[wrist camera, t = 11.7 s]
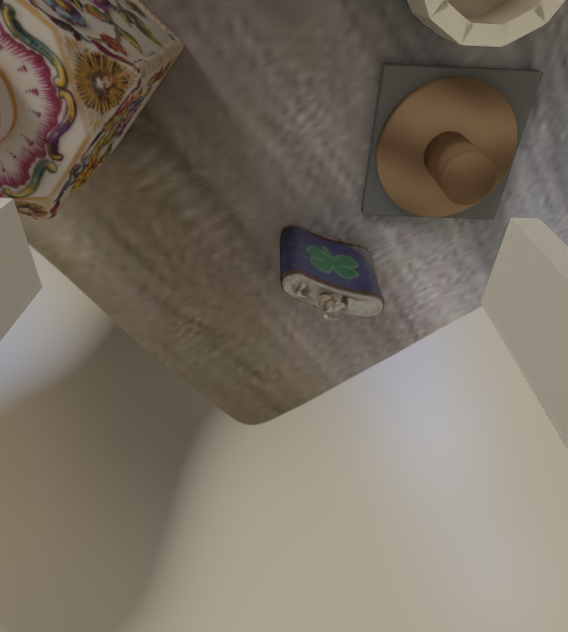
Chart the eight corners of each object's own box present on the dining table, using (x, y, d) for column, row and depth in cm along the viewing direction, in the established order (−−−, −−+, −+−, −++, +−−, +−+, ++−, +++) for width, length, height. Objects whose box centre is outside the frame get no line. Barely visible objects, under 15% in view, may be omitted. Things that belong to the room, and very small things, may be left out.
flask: (374, 248, 45) (394, 313, 36) (361, 272, 47) (377, 340, 38) (284, 219, 43) (283, 281, 35) (274, 245, 45) (271, 310, 36)
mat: (382, 63, 35) (385, 65, 34) (537, 70, 36) (542, 72, 35) (361, 209, 42) (362, 214, 42) (489, 214, 43) (493, 219, 42)
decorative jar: (190, 45, 35) (122, 96, 20) (112, 159, 40) (13, 265, 25) (39, -98, 30) (-190, -165, 15) (-27, 53, 35) (-246, 109, 21)
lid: (387, 73, 35) (408, 93, 29) (531, 78, 35) (579, 100, 29) (366, 209, 41) (379, 247, 36) (487, 213, 42) (520, 252, 36)
